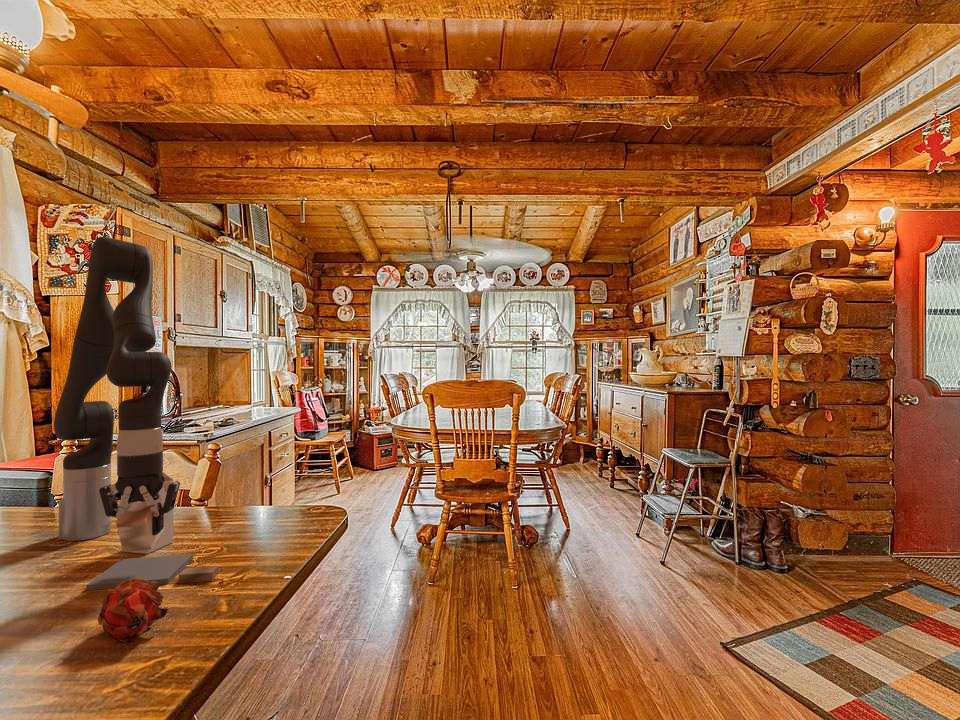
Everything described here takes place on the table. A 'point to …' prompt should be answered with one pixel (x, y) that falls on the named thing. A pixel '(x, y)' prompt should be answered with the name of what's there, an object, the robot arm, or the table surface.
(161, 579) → the charcoal mat
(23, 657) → the table surface
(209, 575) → the block
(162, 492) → the milk carton
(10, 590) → the table surface
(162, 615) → the dragon fruit
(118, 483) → the robot arm
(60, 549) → the table surface
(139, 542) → the pinkish tan block
